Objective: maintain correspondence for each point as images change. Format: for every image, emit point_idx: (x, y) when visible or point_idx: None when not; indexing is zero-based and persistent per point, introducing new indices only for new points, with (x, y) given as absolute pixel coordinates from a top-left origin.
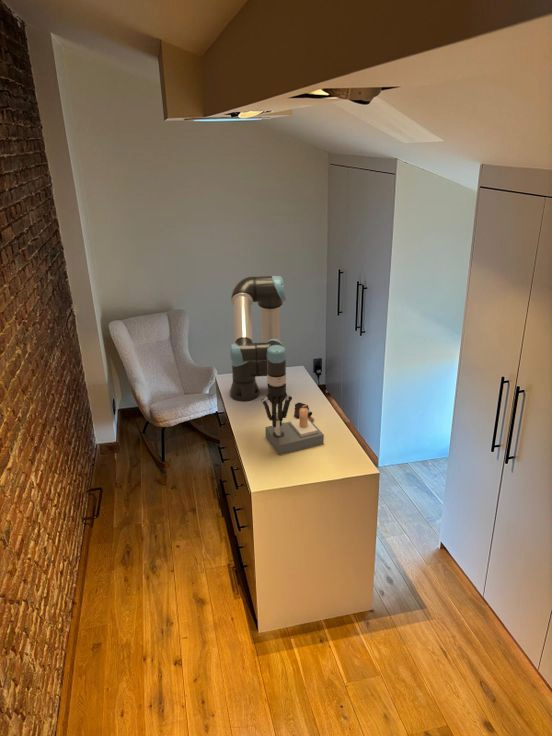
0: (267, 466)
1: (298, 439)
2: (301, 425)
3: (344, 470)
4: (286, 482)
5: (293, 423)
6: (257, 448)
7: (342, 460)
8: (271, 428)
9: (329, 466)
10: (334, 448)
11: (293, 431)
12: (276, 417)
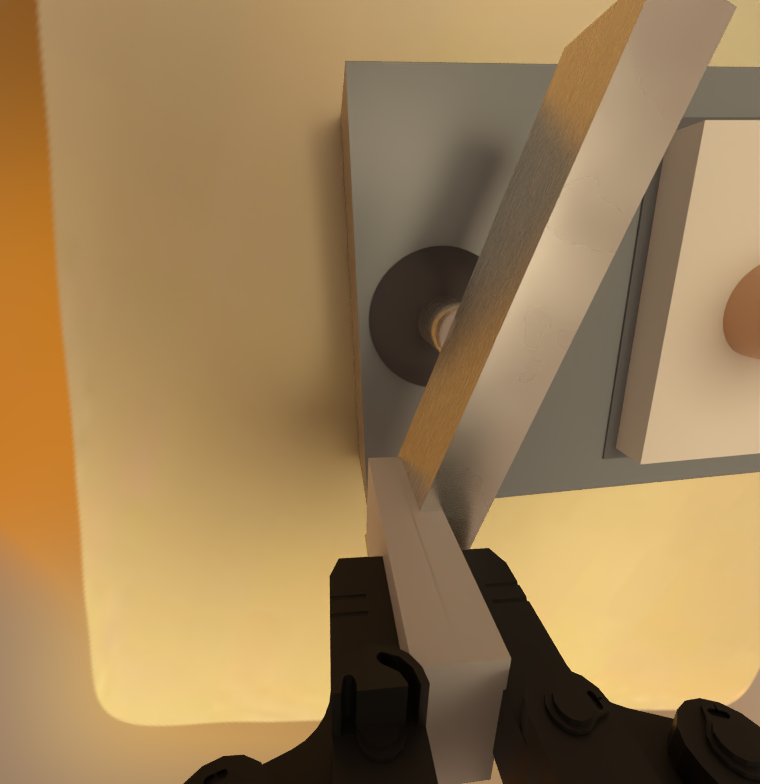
0: (230, 553)
1: (575, 473)
2: (751, 345)
3: (638, 678)
4: (303, 706)
5: (706, 211)
6: (205, 300)
7: (687, 606)
8: (413, 141)
9: (593, 636)
10: (733, 491)
11: (611, 319)
12: (549, 225)
